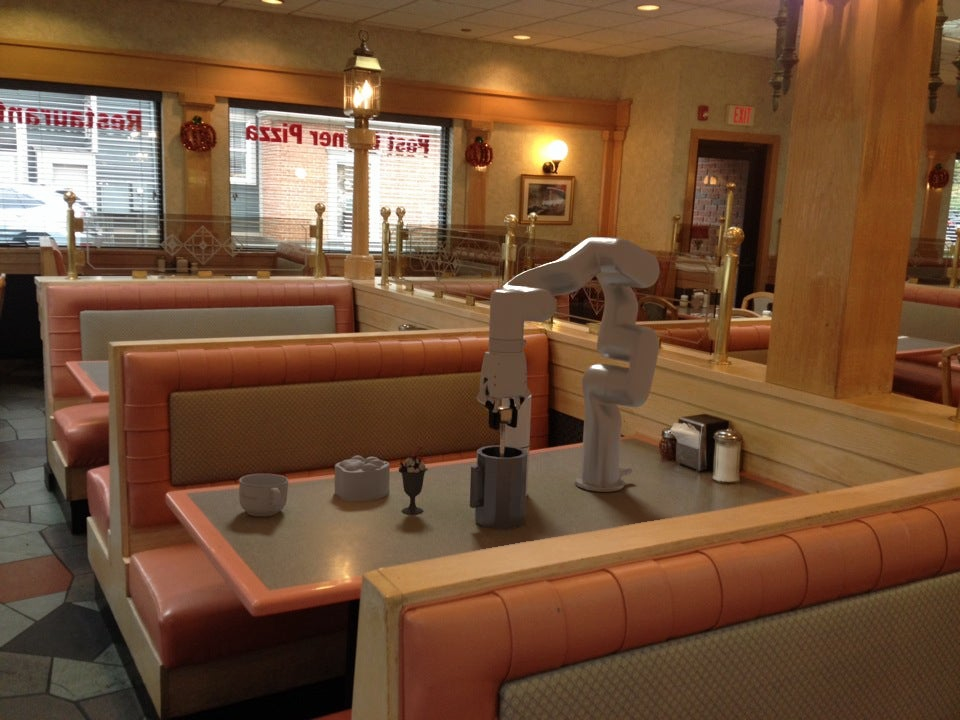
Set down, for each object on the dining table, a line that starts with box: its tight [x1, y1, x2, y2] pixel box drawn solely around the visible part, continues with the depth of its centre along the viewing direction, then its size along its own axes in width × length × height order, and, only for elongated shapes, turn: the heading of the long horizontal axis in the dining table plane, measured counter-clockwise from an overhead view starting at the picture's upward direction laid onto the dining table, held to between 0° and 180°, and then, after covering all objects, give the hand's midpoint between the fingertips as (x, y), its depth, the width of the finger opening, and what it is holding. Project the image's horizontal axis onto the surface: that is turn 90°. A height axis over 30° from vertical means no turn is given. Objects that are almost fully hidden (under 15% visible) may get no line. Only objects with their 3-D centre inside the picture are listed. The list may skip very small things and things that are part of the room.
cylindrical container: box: [501, 394, 532, 497], centre depth 214 cm, size 7×7×25 cm
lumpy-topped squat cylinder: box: [334, 455, 391, 503], centre depth 212 cm, size 10×13×9 cm
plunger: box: [498, 405, 513, 458], centre depth 194 cm, size 8×8×21 cm
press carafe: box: [469, 444, 527, 530], centre depth 195 cm, size 13×11×16 cm
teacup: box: [238, 473, 290, 517], centre depth 195 cm, size 14×11×8 cm
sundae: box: [398, 446, 428, 515], centre depth 200 cm, size 7×7×15 cm
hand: (502, 426), depth 193 cm, fingers closed on plunger, 4 cm apart
